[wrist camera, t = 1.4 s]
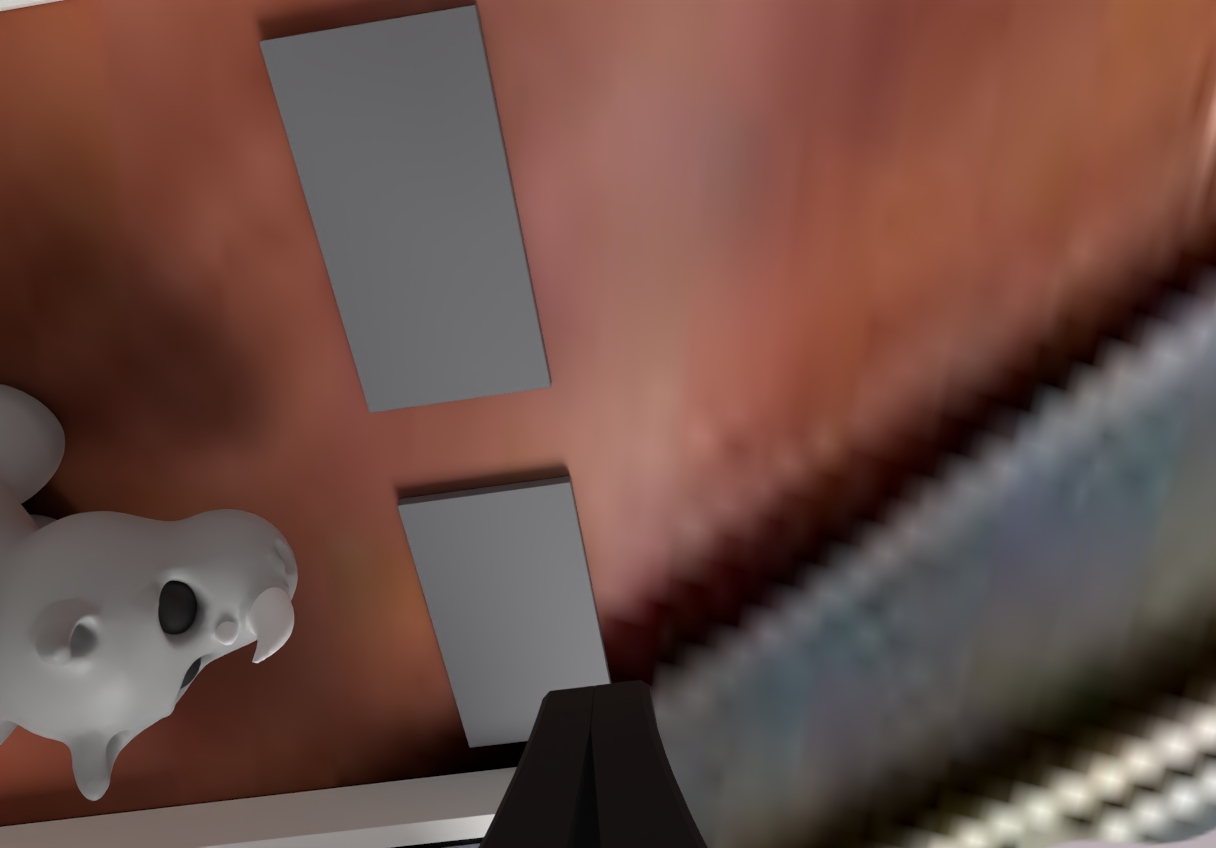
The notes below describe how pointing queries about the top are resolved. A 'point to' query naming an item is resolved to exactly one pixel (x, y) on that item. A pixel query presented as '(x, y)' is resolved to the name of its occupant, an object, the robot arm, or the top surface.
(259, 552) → the chubby cartoon animal
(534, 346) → the rectangular frame
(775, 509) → the top surface
